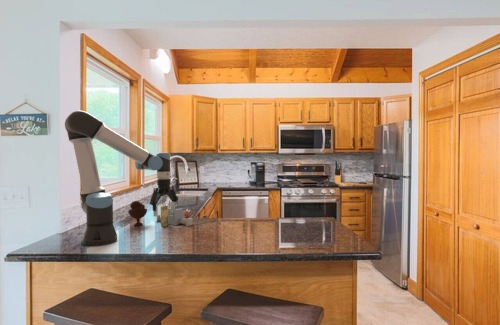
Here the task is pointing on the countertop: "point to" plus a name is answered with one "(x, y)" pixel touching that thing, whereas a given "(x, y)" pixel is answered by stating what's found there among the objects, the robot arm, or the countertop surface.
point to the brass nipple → (164, 216)
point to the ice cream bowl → (137, 211)
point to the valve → (178, 217)
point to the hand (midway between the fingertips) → (164, 214)
